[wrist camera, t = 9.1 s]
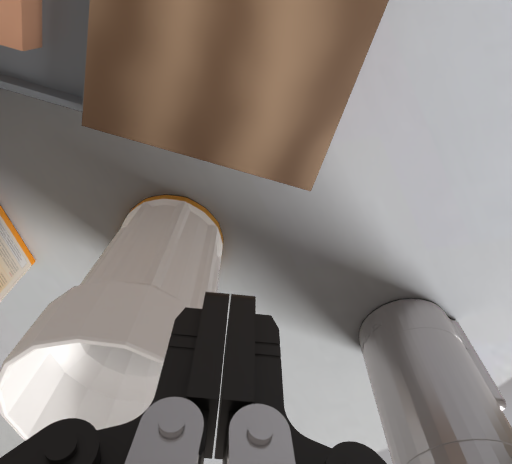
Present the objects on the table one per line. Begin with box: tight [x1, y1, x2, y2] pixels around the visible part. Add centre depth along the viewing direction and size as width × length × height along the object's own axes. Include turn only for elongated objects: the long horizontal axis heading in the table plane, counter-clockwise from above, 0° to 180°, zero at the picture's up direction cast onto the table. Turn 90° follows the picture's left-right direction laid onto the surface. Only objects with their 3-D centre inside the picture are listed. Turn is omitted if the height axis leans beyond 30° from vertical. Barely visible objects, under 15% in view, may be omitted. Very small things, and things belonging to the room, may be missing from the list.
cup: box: [0, 195, 223, 440], centre depth 28 cm, size 11×11×17 cm
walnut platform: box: [82, 0, 389, 191], centre depth 24 cm, size 16×16×4 cm
